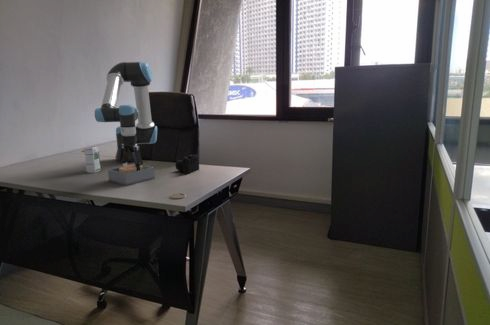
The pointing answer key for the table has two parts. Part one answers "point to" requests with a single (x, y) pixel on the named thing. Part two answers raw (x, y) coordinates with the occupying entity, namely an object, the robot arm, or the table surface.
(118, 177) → the large crate
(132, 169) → the small crate
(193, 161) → the camera
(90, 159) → the syrup box
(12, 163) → the table surface
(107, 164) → the table surface
